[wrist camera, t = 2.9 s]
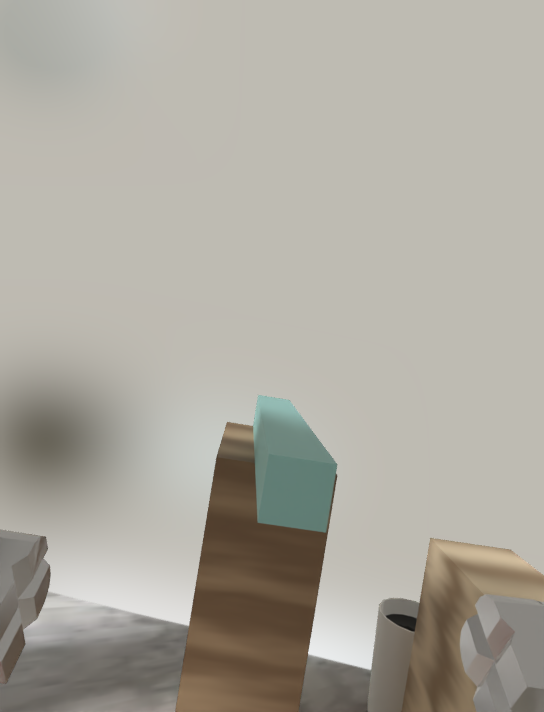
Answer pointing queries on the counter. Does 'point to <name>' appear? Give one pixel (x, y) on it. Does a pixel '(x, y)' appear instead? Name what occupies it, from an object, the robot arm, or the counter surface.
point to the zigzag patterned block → (457, 618)
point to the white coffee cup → (392, 654)
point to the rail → (290, 468)
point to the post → (249, 597)
